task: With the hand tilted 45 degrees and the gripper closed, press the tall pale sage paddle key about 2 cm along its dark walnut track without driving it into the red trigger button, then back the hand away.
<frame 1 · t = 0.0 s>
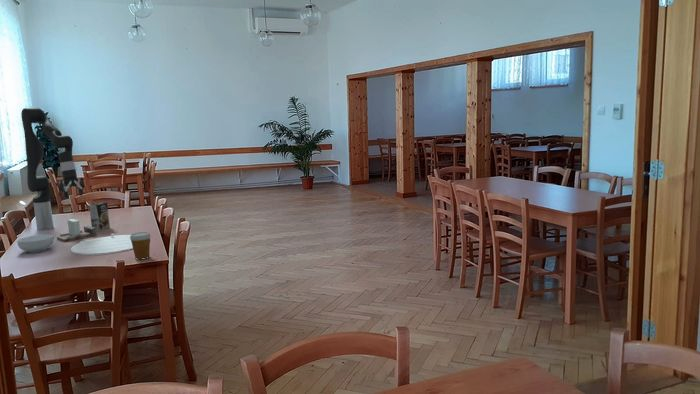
hand: (74, 196, 321), 22 cm above the table, tool pointing down, fingers open, 8 cm apart
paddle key: (74, 227, 314), point 6 cm above the table, slide at 0.0 cm
coffee box: (101, 229, 335), on the table
lazy susan: (111, 245, 295), on the table
cereal bowl: (37, 251, 289), on the table
key track: (75, 237, 315), on the table
disposable coffee cup: (142, 258, 265), on the table
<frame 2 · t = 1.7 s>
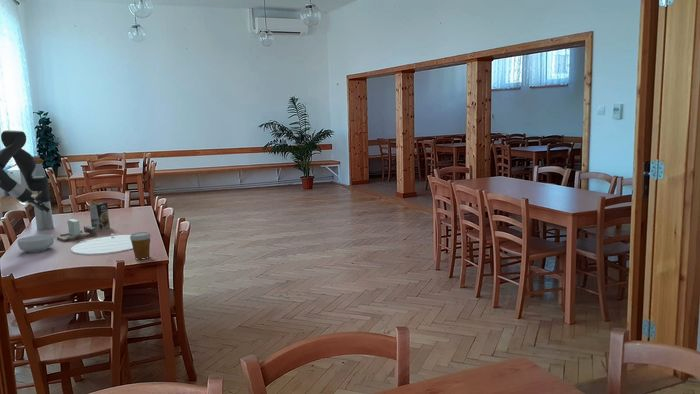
hand: (46, 210, 302), 19 cm above the table, tool tilted 45°, fingers open, 7 cm apart
nothing on the table moved.
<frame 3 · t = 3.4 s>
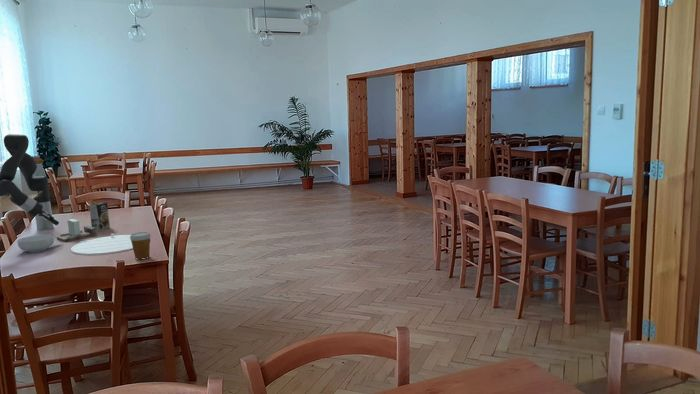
hand: (57, 224, 307), 10 cm above the table, tool tilted 45°, fingers closed
nothing on the table moved.
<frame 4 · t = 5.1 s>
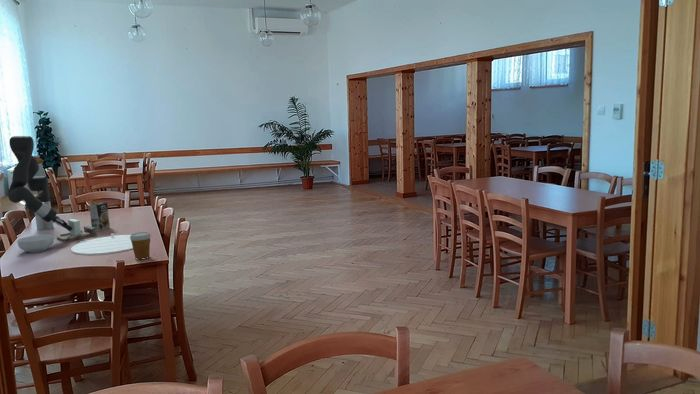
hand: (70, 229, 313), 5 cm above the table, tool tilted 45°, fingers closed
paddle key: (74, 227, 314), point 6 cm above the table, slide at 0.3 cm, touching gripper
everything else where it was.
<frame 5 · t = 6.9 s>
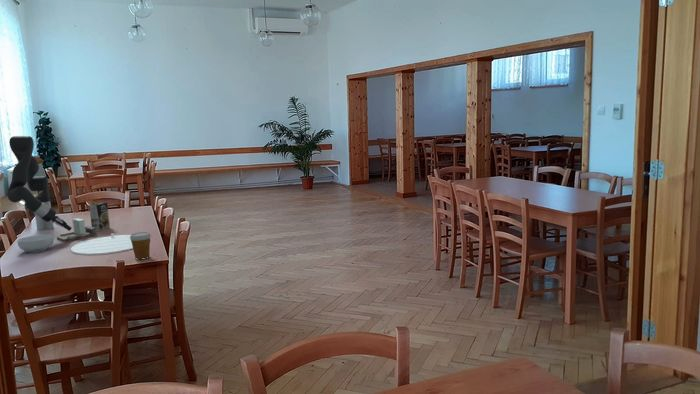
hand: (70, 229, 312), 6 cm above the table, tool tilted 45°, fingers closed
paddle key: (79, 226, 316), point 6 cm above the table, slide at 2.8 cm
everything else where it was.
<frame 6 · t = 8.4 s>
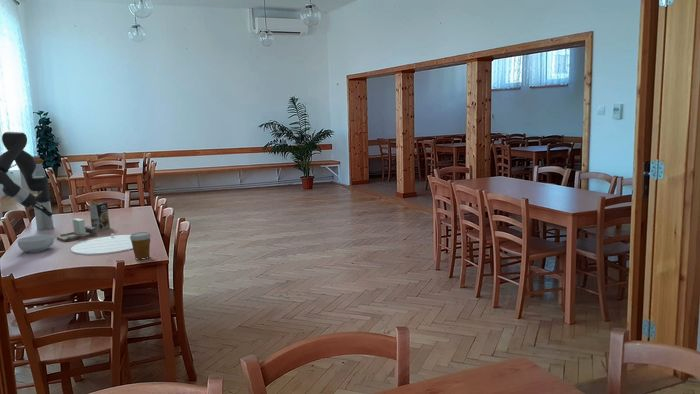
hand: (51, 215, 304), 15 cm above the table, tool tilted 45°, fingers closed
nothing on the table moved.
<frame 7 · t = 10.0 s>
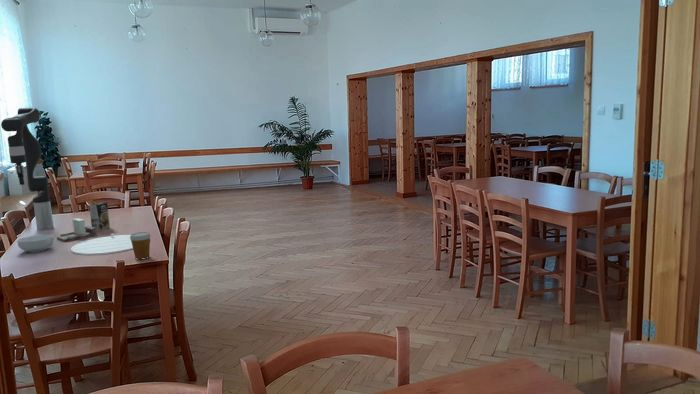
hand: (22, 184, 310), 32 cm above the table, tool pointing down, fingers closed
nothing on the table moved.
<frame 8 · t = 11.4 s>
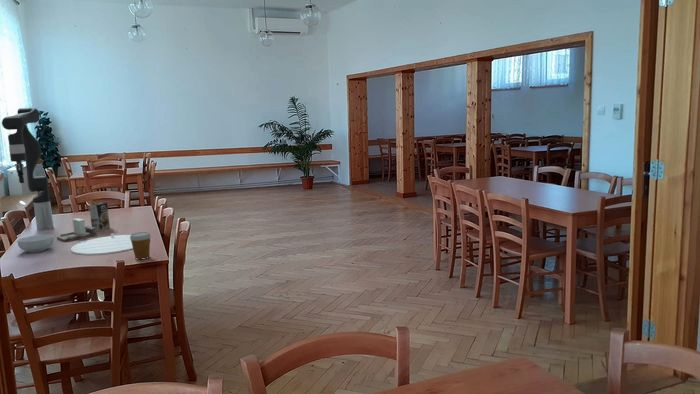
hand: (21, 182, 310), 33 cm above the table, tool pointing down, fingers closed
nothing on the table moved.
at the end: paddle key slide at 2.8 cm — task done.
